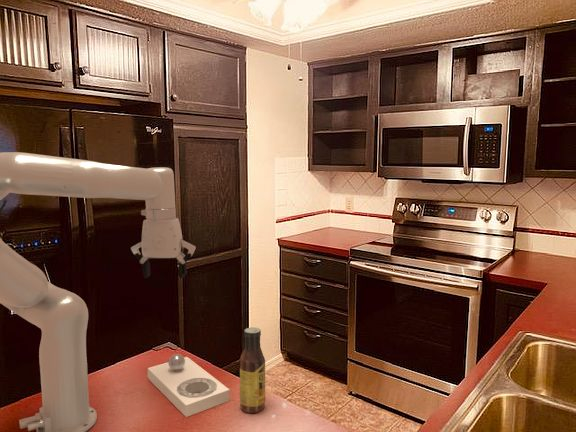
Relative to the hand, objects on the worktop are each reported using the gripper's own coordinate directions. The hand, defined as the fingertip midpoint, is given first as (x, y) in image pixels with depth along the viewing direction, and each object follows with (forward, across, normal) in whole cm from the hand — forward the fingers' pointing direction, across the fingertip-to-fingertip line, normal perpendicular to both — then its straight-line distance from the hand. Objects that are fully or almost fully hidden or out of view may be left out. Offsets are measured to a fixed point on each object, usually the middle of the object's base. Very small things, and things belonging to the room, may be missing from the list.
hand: (164, 276), depth 123 cm
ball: (+24, +2, -1) cm, 24 cm away
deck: (+29, +6, -6) cm, 30 cm away
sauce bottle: (+30, +25, -13) cm, 41 cm away
